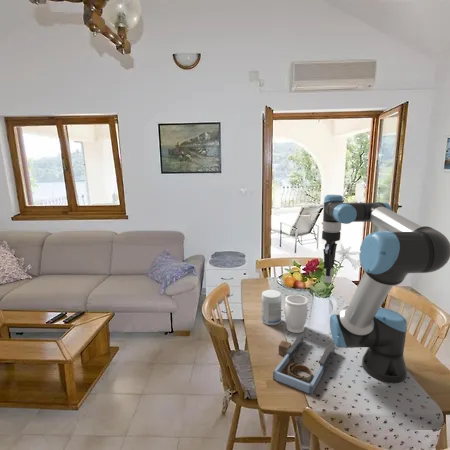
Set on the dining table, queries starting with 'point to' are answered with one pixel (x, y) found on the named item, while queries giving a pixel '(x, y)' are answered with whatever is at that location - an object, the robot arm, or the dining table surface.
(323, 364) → the slot rail
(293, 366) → the bracelet
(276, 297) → the supplement tub
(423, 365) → the dining table surface
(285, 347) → the brown wooden cube
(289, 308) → the jar
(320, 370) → the tray
